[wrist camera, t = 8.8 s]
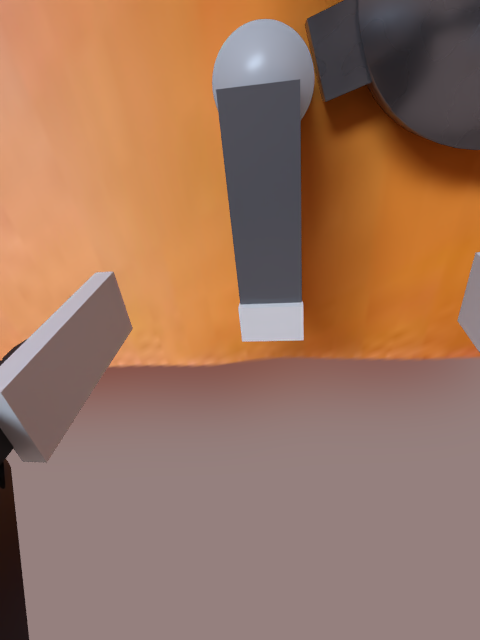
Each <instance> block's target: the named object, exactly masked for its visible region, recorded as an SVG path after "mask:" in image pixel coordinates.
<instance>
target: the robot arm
mask: <svg viewBox="0 0 480 640" xmlns="http://www.w3.org/2000/svg"><path fill="white" fill-rule="evenodd" d="M458 322H459V323H460V325H461V326H462V328H463V329H464V331H465V332H466V334H467V335H468V336H469V338H470V339H471V341H472V342H473V344H474V345H475V347H476V348H477V349H478V351H479V352H480V252H478V253H475V257H474V261H473V264H472V268H471V272H470V276H469V279H468V283H467V287H466V291H465V294H464V298H463V302H462V306H461V309H460V313H459V317H458ZM132 329H133V328H132V325H131V322H130V319H129V316H128V313H127V311H126V308H125V305H124V302H123V299H122V296H121V293H120V290H119V287H118V284H117V281H116V278H115V275H114V272H96V273H95V274H94V275H93V276H92V277H91V278H89V279H88V280H87V281H86V282H85V283H84V284H83V285H82V286H81V287H80V288H79V289H78V290H77V291H76V292H75V293H74V294H73V295H72V296H71V297H70V298H69V299H68V300H67V301H66V302H65V303H64V304H63V305H62V306H61V307H60V308H59V309H58V310H57V311H56V312H55V313H54V314H53V315H52V316H51V317H50V318H49V319H48V320H47V321H46V322H45V323H44V324H42V325H41V326H40V327H39V328H38V329H37V330H36V331H35V332H34V333H33V334H32V335H31V336H30V337H29V338H28V339H27V340H25V341H23V342H22V343H20V344H19V345H17V346H15V347H14V348H13V349H12V350H11V351H10V352H8V353H7V354H6V355H5V356H4V357H3V358H2V359H3V360H2V361H0V640H29V635H28V625H27V616H26V606H25V597H24V588H23V578H22V569H21V559H20V550H19V540H18V531H17V521H16V512H15V503H14V493H13V484H12V475H11V467H10V465H9V463H8V461H7V460H6V459H5V458H6V457H7V456H8V455H9V453H10V452H11V450H12V449H13V448H14V450H15V451H16V453H17V454H18V455H19V457H20V458H21V460H22V461H24V462H25V461H26V462H47V461H48V460H49V458H50V457H51V455H52V454H53V452H54V450H55V449H56V447H57V446H58V444H59V443H60V441H61V439H62V438H63V436H64V435H65V433H66V432H67V430H68V429H69V427H70V425H71V424H72V422H73V421H74V419H75V417H76V416H77V414H78V413H79V411H80V410H81V408H82V407H83V405H84V404H85V402H86V400H87V399H88V397H89V396H90V394H91V392H92V391H93V389H94V388H95V386H96V385H97V383H98V382H99V380H100V379H101V377H102V375H103V374H104V372H105V371H106V369H107V368H108V366H109V365H110V363H111V361H112V360H113V358H114V357H115V355H116V354H117V352H118V351H119V349H120V347H121V346H122V344H123V343H124V341H125V340H126V338H127V337H128V335H129V333H130V332H131V330H132Z"/></svg>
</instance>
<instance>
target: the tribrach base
mask: <svg viewBox="0 0 480 640" xmlns="http://www.w3.org/2000/svg"><path fill="white" fill-rule="evenodd" d="M305 28H306V32H307V36H308V41H309V45H310V49H311V54H312V58H313V62H314V67H315V71H316V76H317V80H318V84H319V89H320V93H321V97H322V101H325V102H326V101H329V100H331V99H333V98H336V97H338V96H340V95H343V94H345V93H347V92H350V91H352V90H354V89H357V88H359V87H361V86H364V85H367V86H368V88H369V90H370V92H371V94H372V95H373V97H374V99H375V100H376V101H377V103H378V104H379V105H380V107H381V108H382V109H383V110H384V112H385V113H386V114H387V115H388V116H390V117H391V118H392V119H393V120H394V121H395V122H396V123H397V124H399V125H400V126H402V127H403V128H405V129H406V130H408V131H409V132H412V133H414V134H416V135H418V136H421V137H423V138H425V139H428V140H431V141H434V142H436V143H439V144H443V145H447V146H451V147H454V148H462V149H471V150H480V0H344V1H342V2H340V3H338V4H336V5H334V6H332V7H330V8H328V9H326V10H324V11H322V12H320V13H318V14H316V15H314V16H312V17H310V18H308V19H307V20H306V23H305Z"/></svg>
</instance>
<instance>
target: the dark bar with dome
mask: <svg viewBox="0 0 480 640" xmlns="http://www.w3.org/2000/svg"><path fill="white" fill-rule="evenodd" d="M212 85H213V95H214V100H215V103H216V106H217V109H218V112H219V121H220V129H221V138H222V147H223V156H224V165H225V173H226V182H227V191H228V200H229V208H230V217H231V226H232V235H233V244H234V252H235V261H236V270H237V279H238V287H239V296H240V303H239V308H238V309H239V318H240V326H241V335H242V341H295V340H304V326H303V301H302V264H301V119H302V118H303V116H304V115H305V113H306V111H307V109H308V107H309V104H310V102H311V98H312V95H313V89H314V67H313V61H312V58H311V54H310V52H309V50H308V47H307V46H306V44H305V42H304V41H303V39H302V38H301V37H300V35H299V34H298V33H297V32H296V31H295V30H294V29H292V28H291V27H289V26H288V25H286V24H284V23H282V22H280V21H276V20H271V19H259V20H254V21H251V22H248V23H246V24H244V25H242V26H241V27H239V28H238V29H237V30H235V31H234V32H233V33H232V34H231V35H230V36H229V37H228V38H227V40H226V41H225V43H224V44H223V46H222V47H221V49H220V51H219V53H218V56H217V58H216V62H215V65H214V70H213V81H212Z"/></svg>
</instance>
